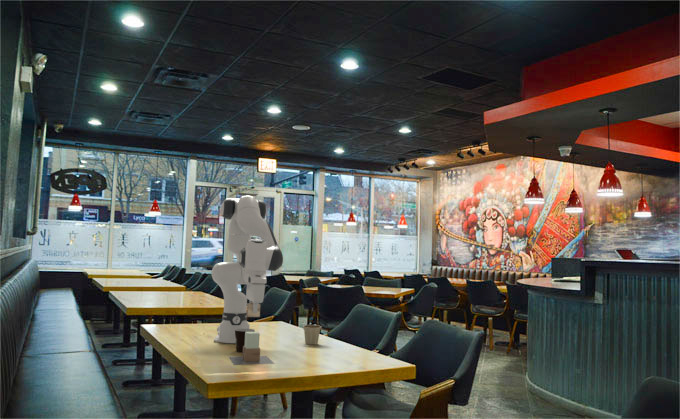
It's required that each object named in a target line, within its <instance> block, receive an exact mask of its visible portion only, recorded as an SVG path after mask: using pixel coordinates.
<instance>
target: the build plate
mask: <svg viewBox="0 0 680 419" xmlns="http://www.w3.org/2000/svg"><path fill="white" fill-rule="evenodd" d="M242 357H243V355H241V356H239V355H238V356H228V359H230V361H231V363H232V364H233V366H240V365H241V366H242V365H247V366H248V365H269V364H270V365H273V364H275V362H274V361H273V360H272V359H271V358H270V357H268V355H260V361H254V362H245V361H244V360H243V359H242Z"/></svg>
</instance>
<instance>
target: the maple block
mask: <svg viewBox="0 0 680 419" xmlns="http://www.w3.org/2000/svg"><path fill="white" fill-rule="evenodd" d="M252 308H253V303H248V302H247V309H246V312H247V318H260V317H261V303H259V305H258V309H257V313H253V312H252Z"/></svg>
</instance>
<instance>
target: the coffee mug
mask: <svg viewBox="0 0 680 419" xmlns="http://www.w3.org/2000/svg"><path fill="white" fill-rule="evenodd" d="M245 332H256V330H255V329H254V328H250V329H235V338H236V343H235V352H237V353H242V354H243V346H245Z"/></svg>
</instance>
